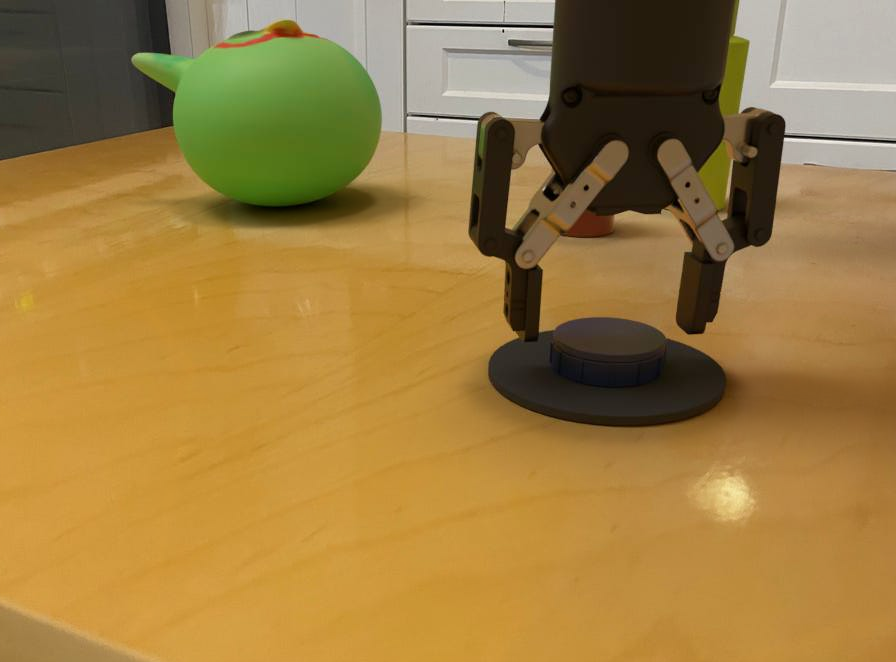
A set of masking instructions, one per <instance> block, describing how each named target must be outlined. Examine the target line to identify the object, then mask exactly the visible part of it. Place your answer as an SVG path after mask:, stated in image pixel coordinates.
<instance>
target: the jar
mask: <svg viewBox="0 0 896 662" xmlns="http://www.w3.org/2000/svg"><path fill="white" fill-rule="evenodd" d="M552 171H553V168H552V167H551V172H552ZM551 172H550V173H551ZM555 190H556V189H555ZM555 190H554V191H555ZM572 204H573V202H572V203H571V205H572ZM615 216H616V215H613V216H596V215H594V214H593V213H592V212H589V211H586V210H585V211H584V212H583V213H582V215H581V216H580V217H579V218H578V220H577V221H576V222H575V223H574V225H573V226H572V227H571V228H570V229H569V230H568V231H567V232H566V233H563V234H561V235H560V236H566V237H574V238H594V237H602V236H606V235H610V234H611V233H612V232H613V231H614V225H615V218H616V217H615Z"/></svg>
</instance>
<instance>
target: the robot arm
mask: <svg viewBox="0 0 896 662" xmlns="http://www.w3.org/2000/svg"><path fill="white" fill-rule="evenodd" d="M735 2H736V0H554V13H553V26H552V27H553V29H552V41H551V42H552V44H551V58H550V73H549V75H550V76H549V95H548V98H547V103H546V106H545V108H544V110H543V112H542V114H541V116H540V117H539V119H537V118H535V119H533V118H515V117H514V118H513V117H512V118H511V117H503V116H502V115H501V114H499V113H498V112H495V111H487V112H484V113H483V114H482V115H480V117H479V119H478V121H477V125H476V136H475V149H474V159H473V160H474V161H473V171H472V183H471V193H470V194H471V196H470V206H469V207H470V208H469V218H468V230H467V231H468V232H467V234H468V237H469V239H470V240H471V241H472V243H473V244H474V245H475V247H476V249H477V250H478V251H479V252H480V254H481V255H483V256H484V257H488V258H491V257H494V258H495V259H499V260H503V261H504V263H505V264H504V265H505V270H504V291H503V292H504V294H503V310H502V311H503V312H502V313H503V315H504V319H505V321H506V323H507V325H508V326H509V327H510V329H511V331H512V332H515V334H516V335H517V336H518V337H517V338H520V340H521V341H522V342H537V341H538V337H539V332H540V321H541V305H542V290H543V277H544V276H543V275H544V269H543V268H542V267H541V266H540V265H539V263H540V262H541V260H542V259H543V258H544V256H546V254H547V252H549V250H550V249H551V247H553V245H554V243H555V242H556V241H557V240H558V239H559V237H561V236H562V235H561V234H563V233H566V232H567V231H568V230H569V229H570V228H571V227H572V226H573V225H574V223H575V222H576V221H577V220H578V218H579V217H580V216H581V215H582V213H583V212H584V211H585V210H586V211H589V212H592V213H593V214H594V215H596V216H613V215H615V216H616V215H619V214H622V213H625V212H628V211H631V212H634V213H638V214H641V215H661V214H662V211H663V210H664V208H667V207H668V209H669V212H670V214H672V215H673V216H674V217H675V219H676V220H677V222H678V224H679V225H680V227H681V228H682V230H683V232H684V234H685V235H686V237H687V238H688V241H689V242H690V243H691V245H692V246H691V251H684V254H683V261H682V267H681V268H682V269H681V276H680V277H681V278H680V281H679V290H678V297H677V303H676V311H675V322H676V325H677V327H679V328H680V329H681V331H682V332H684V333H685V334H686V335H688V336H691V335H703V334H705V331H706V329H707V327H706V326H707V323H713V322H714V320H715V319H716V317H717V314H718V313H719V307H720V300H721V293H722V287H723V284H724V283H723V282H724V276H725V270H726V264H727V262H728V260H729V259H730V257H731V256H732V255H733V254H735V253H736V252H738V251H741V250H744V249H746V248H748V247H750V246H752V247H755V248H760V247H763V246H765V245H766V244H768V242H769V241H770V240H771V238H772V235H773V228H774V222H775V214H776V213H775V212H776V207H777V206H776V205H777V197H778V189H779V183H780V174H781V166H782V159H783V158H782V157H783V149H784V143H785V134H786V125H787V123H786V120H785V118H784V117H783V116H782V115H781V114H778V113H775V112H774V111H770V110H767V109H763V108H758V107H755V106H749V107H746V108H744V109H743V110H742V111H741V112H740V113H738V114H729V115H722V114H721V111H720V106H719V94H720V90H721V86H722V83H723V80H724V76H725V69H726V62H727V55H728V49H729V42H730V35H731V28H732V21H733V14H734V8H735ZM722 140H723V141H724V143H725V151H726V154H727V156H728V157H729V158H730V159H731V160H732V165H731V176H730V184H729V186H730V187H729V196H728V205H727V215H726V218H724V219H721V217H720V215H719V213H718V212H719V210H718V209H717V207H716V205H715V203H714V202H713V200H712V198H711V196H710V195H709V193H708V191H707V189H706V188H705V186H704V184H703V182H702V181H701V179H700V177H699V175H698V174H697V173H698V172H699V171H700V169H701V168H702V167H703V166H704V164H705V163H706V162H707V161H708V159H709V158H710V157H711V155H712V154H713V153H714V152H715V150H716V149H717V148H718V147H719V145H720V144H721V142H722ZM534 146H538V147H539V149H540V151H541V153H542V154H543V156H544V157H545V159H546V161H547V162H548V164H549V165H550V167H551V169H552V168H553V171H552V172H550V173H549V175H548V176H547V178H546V179H545V180H544V181H543V183H542V184H541V185H540V186H539V188H538V189H537V190H536V191H535V193H534V194H533V196H532V197H531V199H530V201H529V203H528V207H527V209H526V210H525V212H524V214H522V215H521V217H519V219H518V221H517V222H516V224H514V226H512V227H513V228H512V229H511V228H508V227H506V225H507V216H508V214H507V213H508V206H509V197H510V196H509V195H510V187H511V176H512V171H514V170H518V169H519V168H521V167H522V166H523V165H524V163H525V162H526V158H527V155H528V154H529V151H530V150H531V149H532V148H533V147H534ZM555 189H556V190H555ZM554 190H555V191H554ZM572 202H573V204H572V205H571V203H572ZM668 209H667V210H668Z"/></svg>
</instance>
